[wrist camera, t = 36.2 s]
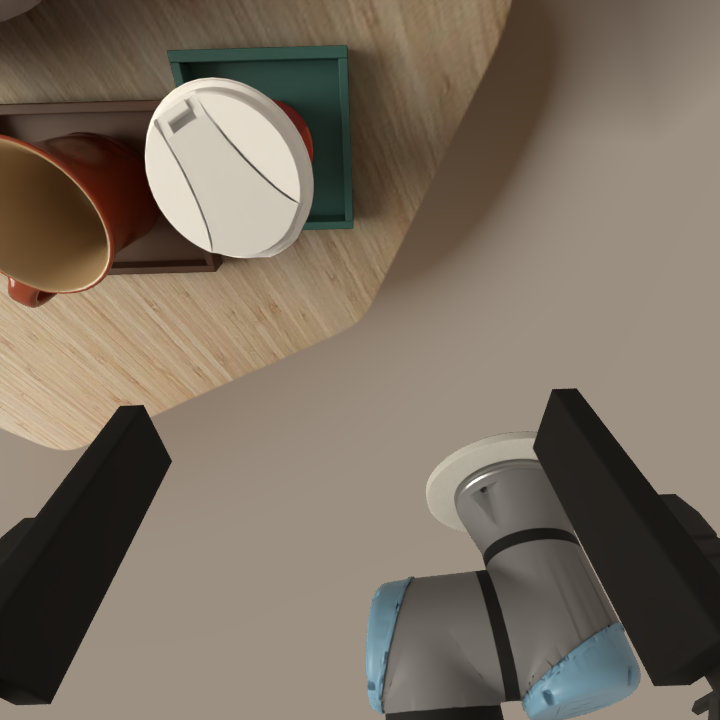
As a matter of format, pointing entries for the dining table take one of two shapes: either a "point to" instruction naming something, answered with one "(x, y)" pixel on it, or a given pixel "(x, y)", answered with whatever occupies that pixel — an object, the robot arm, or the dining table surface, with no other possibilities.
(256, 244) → the paper cup
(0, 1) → the jar
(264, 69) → the teal tray
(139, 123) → the walnut tray
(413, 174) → the dining table surface
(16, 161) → the mug
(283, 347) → the dining table surface
